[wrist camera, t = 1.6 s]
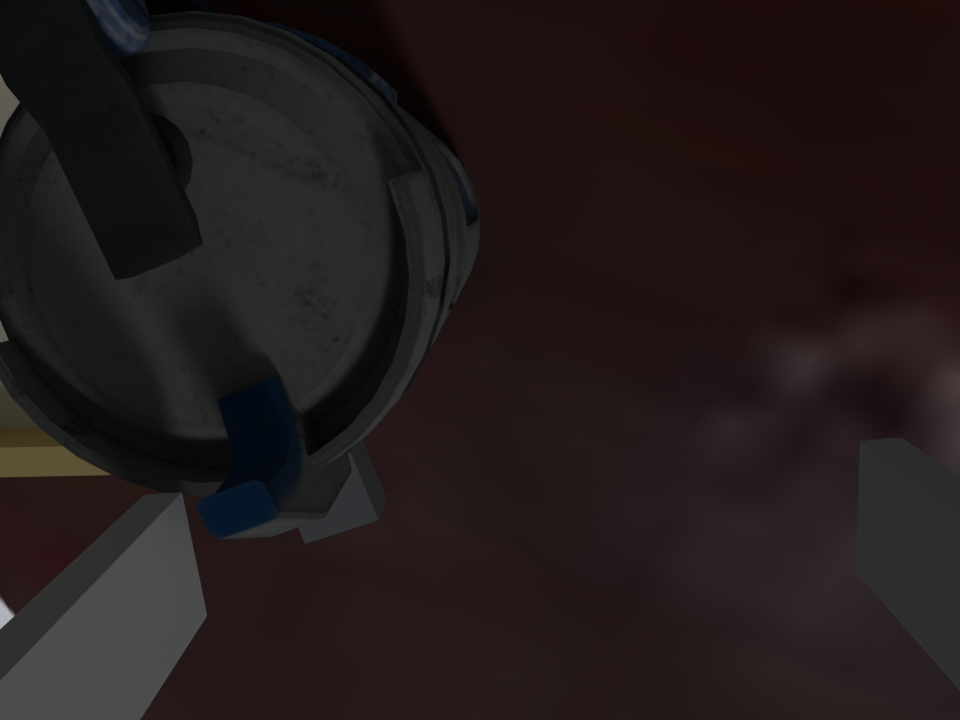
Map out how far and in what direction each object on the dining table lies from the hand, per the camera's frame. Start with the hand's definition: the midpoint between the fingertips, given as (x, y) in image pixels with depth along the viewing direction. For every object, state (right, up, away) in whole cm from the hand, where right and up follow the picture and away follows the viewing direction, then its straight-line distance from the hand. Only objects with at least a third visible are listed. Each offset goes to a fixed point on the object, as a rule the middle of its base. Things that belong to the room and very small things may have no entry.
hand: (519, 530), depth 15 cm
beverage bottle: (-6, +11, +22) cm, 26 cm away
